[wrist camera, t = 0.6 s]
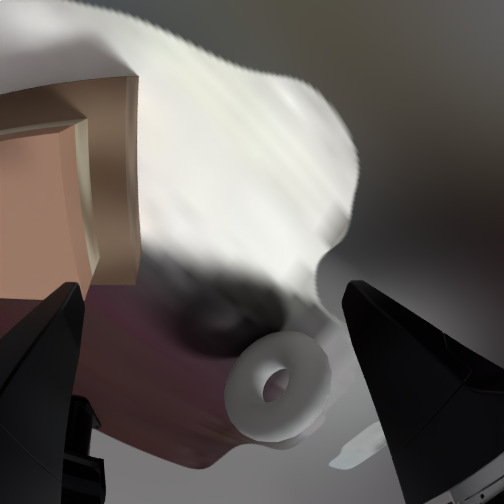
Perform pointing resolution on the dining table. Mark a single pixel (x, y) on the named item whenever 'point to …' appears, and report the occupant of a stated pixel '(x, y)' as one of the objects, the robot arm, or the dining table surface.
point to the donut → (293, 398)
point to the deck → (97, 159)
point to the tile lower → (83, 180)
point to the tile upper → (41, 214)
